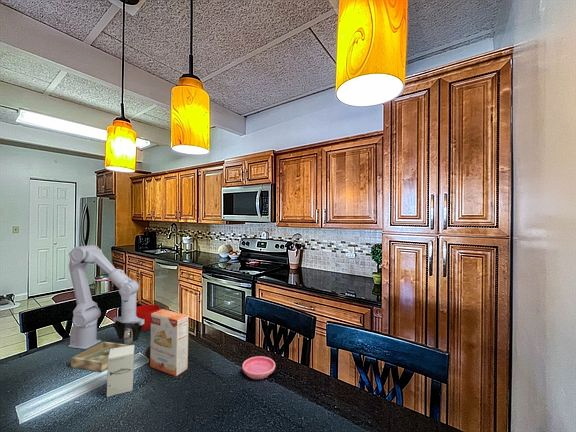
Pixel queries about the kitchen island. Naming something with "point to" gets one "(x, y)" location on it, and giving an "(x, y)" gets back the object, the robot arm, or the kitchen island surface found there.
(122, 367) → the supplement box
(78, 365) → the open box
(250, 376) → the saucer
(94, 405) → the kitchen island surface
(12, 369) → the kitchen island surface
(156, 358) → the cracker box
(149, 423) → the kitchen island surface
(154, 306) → the red bowl
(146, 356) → the bolt
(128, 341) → the peg
